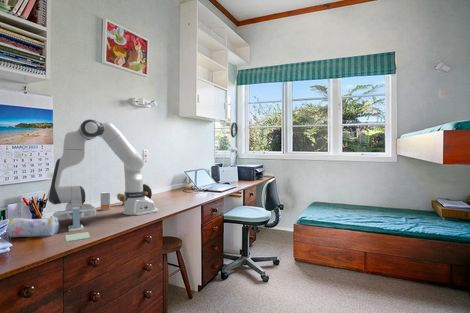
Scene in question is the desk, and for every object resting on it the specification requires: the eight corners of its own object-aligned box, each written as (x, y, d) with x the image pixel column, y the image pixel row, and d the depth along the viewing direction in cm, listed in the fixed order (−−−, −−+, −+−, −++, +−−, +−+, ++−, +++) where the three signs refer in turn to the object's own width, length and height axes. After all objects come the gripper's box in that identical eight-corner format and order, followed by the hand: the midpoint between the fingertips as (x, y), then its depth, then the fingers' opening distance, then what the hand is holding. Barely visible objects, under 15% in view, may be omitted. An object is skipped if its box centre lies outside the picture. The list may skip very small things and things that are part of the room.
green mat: (88, 233, 144) (88, 231, 144) (90, 238, 135) (90, 237, 135) (65, 236, 138) (65, 235, 138) (65, 242, 130) (65, 241, 130)
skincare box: (100, 210, 193) (100, 193, 193) (100, 209, 197) (100, 192, 197) (110, 209, 196) (109, 192, 195) (110, 208, 200) (109, 191, 199)
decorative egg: (146, 201, 224) (146, 182, 223) (155, 203, 215) (154, 184, 215) (131, 203, 215) (131, 184, 214) (139, 206, 206) (139, 185, 206)
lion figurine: (117, 206, 206) (117, 194, 206) (116, 204, 211) (116, 193, 211) (138, 204, 212) (138, 192, 212) (137, 203, 217) (137, 191, 217)
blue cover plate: (79, 225, 152) (78, 206, 152) (79, 227, 148) (79, 208, 148) (72, 226, 151) (72, 207, 150) (73, 228, 147) (72, 209, 146)
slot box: (82, 226, 155) (82, 224, 155) (83, 230, 148) (83, 227, 147) (68, 228, 151) (68, 225, 151) (69, 232, 144) (68, 229, 144)
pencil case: (61, 232, 145) (60, 214, 144) (52, 238, 136) (52, 218, 136) (16, 234, 142) (15, 215, 141) (4, 240, 133) (4, 220, 133)
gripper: (52, 208, 154) (52, 213, 143) (94, 203, 165) (97, 208, 154) (53, 219, 155) (52, 225, 143) (94, 214, 166) (97, 219, 154)
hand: (76, 216), depth 148 cm, fingers closed on blue cover plate, 3 cm apart
